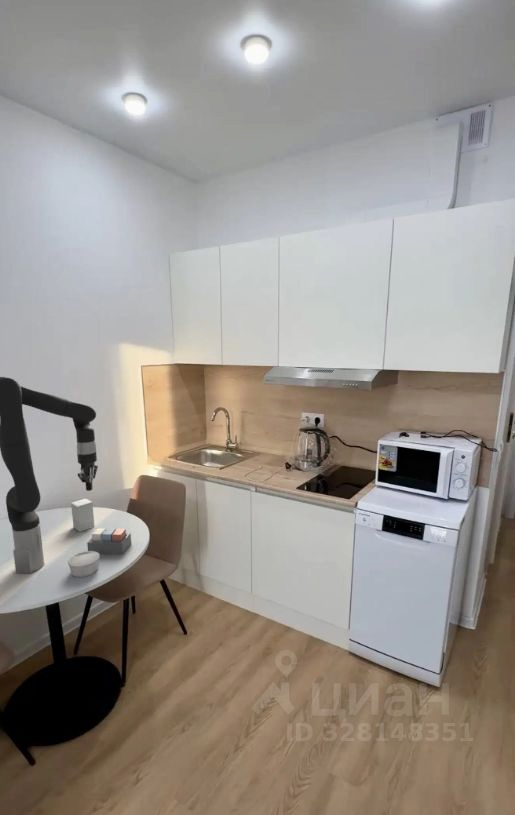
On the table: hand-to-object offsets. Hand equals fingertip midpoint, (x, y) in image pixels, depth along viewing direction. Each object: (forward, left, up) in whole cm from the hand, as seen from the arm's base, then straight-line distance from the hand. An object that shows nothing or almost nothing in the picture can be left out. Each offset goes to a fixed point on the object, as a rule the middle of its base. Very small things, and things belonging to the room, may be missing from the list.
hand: (89, 490), depth 169 cm
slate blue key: (-6, -10, -21) cm, 24 cm away
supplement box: (+13, +12, -24) cm, 30 cm away
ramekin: (-22, -7, -24) cm, 34 cm away
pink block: (-6, -14, -21) cm, 26 cm away
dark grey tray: (-6, -10, -24) cm, 27 cm away
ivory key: (-6, -6, -21) cm, 23 cm away
